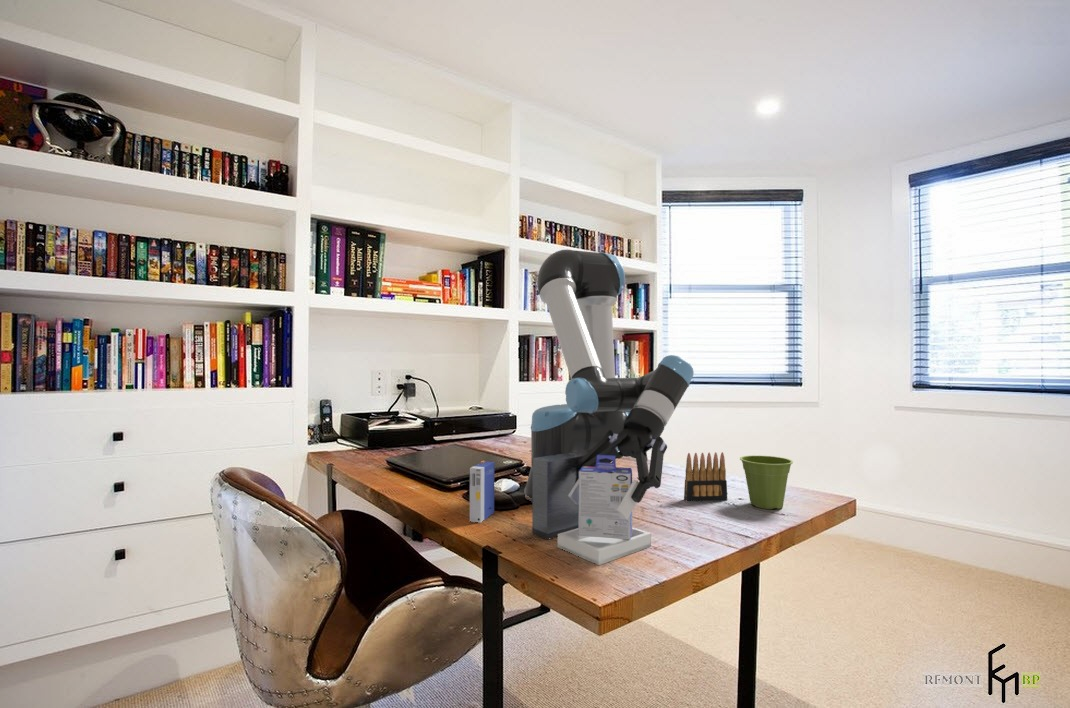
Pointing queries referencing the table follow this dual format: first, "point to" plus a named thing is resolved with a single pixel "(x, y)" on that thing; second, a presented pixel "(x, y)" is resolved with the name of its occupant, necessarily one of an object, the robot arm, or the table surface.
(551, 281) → the robot arm
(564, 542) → the tray
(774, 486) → the plant pot
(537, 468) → the block
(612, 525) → the ink cartridge box
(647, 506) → the table surface
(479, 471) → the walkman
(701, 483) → the ammunition clip
